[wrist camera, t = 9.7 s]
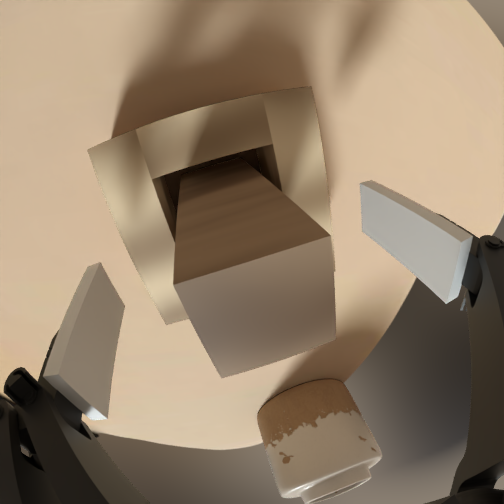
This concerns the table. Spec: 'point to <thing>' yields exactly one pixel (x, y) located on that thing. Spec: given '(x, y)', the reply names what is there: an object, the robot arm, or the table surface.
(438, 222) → the robot arm
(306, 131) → the socket
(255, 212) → the peg
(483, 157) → the table surface
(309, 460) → the vase
